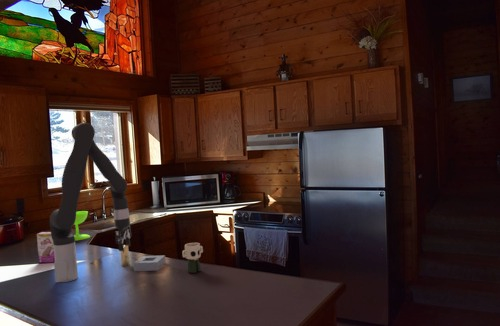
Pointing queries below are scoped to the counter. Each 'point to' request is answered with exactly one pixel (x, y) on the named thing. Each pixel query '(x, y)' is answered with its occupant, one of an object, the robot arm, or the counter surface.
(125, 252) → the brass cylinder
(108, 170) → the robot arm
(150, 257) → the block
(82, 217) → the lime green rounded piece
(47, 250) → the candy bar box
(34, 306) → the counter surface
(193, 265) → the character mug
